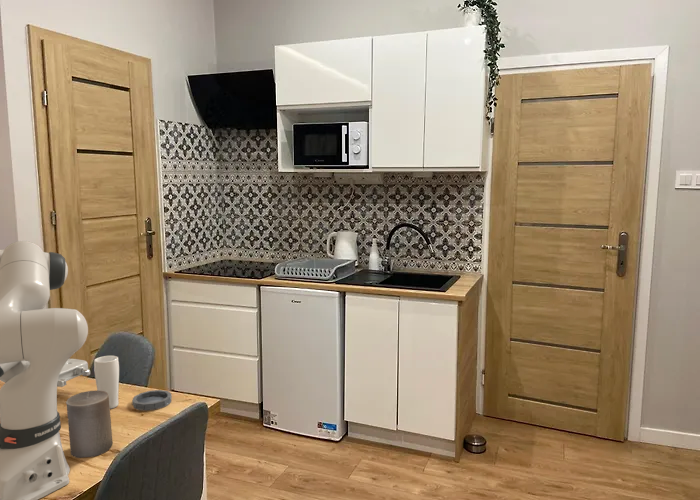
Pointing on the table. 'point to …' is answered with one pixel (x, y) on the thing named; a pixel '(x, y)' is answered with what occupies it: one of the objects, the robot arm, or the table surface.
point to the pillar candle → (89, 423)
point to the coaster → (151, 400)
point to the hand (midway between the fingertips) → (76, 378)
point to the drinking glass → (108, 377)
